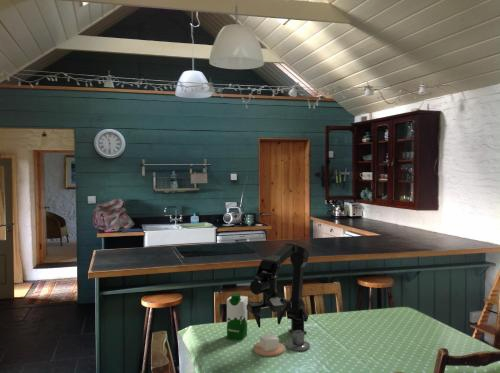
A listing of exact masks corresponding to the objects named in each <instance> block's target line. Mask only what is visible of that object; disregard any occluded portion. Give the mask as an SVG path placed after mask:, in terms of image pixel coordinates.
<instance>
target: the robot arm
mask: <svg viewBox="0 0 500 373" xmlns="http://www.w3.org/2000/svg"><path fill="white" fill-rule="evenodd" d="M284 244H285V245H284V246H282V248H281V249H280V250H278V251H277V252H276V253H274V254H273V255H270V256H266V257H264V258H262V259H261V261H260V262H259V265H258V269H257V271H256V273H255V277H254V278H253V280H252V281H251V282H250V284H249V289H250V292H251V293H252V294H253V295H257V296H258V295H260V294H262V299H261V300H260V302H261V303H257V302H255V301H254V302H248V304H247V312H249V313H251V314H252V315H253V317H254V319H255V321H256V324H257V328H261V315H262V312H261V311H262V310H264V309H265V310H266V309H270V311H271V312H272V313H276V319H277V320H276V321H277V322H276V323H277V324H278V325H280V324H281V322H282V319H283V317H284V314H285V313H286V314H285V315H286V318H287V319H288V320H290V321H291V322H290V326H291V328H290V329H288V332H289V333H291V334H292V335H293V331H295V330H301V331H303V332H304V335H306V334H307V331H306V330H305V323H307V322H308V320H309V313H308V312H307V311H306V304H305V301H304V300H303V289H304V288H303V285H304V271H305V266H306V265H307V263H308V262H309V261H308V260H309V257H310V252H309V251H308V248H305V247H302V246H300V245H298V244H297V243H293V242H287V243H284ZM288 259H289V260H290V264H291V265H292V277H291V278H292V279H291V280H292V282H291V296H290V299H287V298H286V297H279V293H278V292H277V278H278V277H280V275H279V274H278V272H279V271H280V270H281V268H282V267H281V266H282V264H283V263H284V262H285V261H286V260H288Z"/></svg>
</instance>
